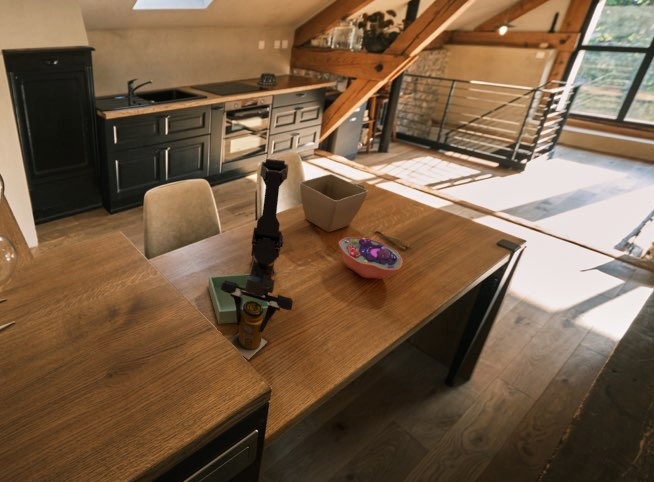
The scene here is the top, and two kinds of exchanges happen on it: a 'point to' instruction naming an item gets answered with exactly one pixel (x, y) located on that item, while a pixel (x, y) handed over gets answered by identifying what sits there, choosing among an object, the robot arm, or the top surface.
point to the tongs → (394, 240)
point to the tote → (229, 297)
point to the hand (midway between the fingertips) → (249, 328)
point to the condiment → (250, 330)
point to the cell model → (369, 257)
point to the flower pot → (331, 201)
